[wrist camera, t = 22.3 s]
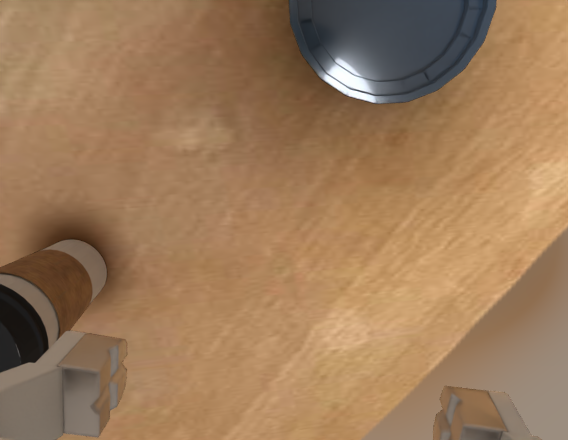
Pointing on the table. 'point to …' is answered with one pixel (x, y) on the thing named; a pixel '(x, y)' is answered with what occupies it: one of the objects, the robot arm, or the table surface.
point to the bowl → (389, 43)
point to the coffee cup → (45, 298)
